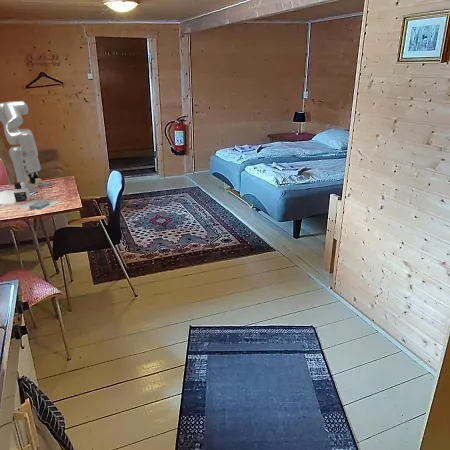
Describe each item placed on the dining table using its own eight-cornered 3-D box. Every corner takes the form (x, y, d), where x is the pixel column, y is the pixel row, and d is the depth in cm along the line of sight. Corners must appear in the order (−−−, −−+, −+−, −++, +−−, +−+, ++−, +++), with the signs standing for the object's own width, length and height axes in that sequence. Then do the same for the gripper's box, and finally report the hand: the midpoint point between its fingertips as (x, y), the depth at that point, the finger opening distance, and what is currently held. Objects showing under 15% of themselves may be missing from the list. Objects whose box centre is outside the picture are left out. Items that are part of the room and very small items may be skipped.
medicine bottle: (15, 203, 259) (11, 184, 255) (18, 199, 266) (14, 182, 261) (27, 201, 260) (23, 183, 256) (30, 198, 267) (26, 180, 262)
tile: (29, 205, 244) (39, 206, 242) (38, 201, 251) (49, 202, 249) (29, 208, 245) (40, 209, 243) (39, 204, 252) (49, 205, 250)
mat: (16, 208, 248) (16, 207, 248) (35, 200, 262) (35, 199, 262) (43, 210, 242) (43, 209, 242) (61, 202, 256) (61, 201, 256)
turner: (24, 183, 253) (23, 178, 252) (30, 181, 258) (29, 176, 256) (46, 187, 249) (45, 182, 248) (51, 185, 254) (51, 180, 252)
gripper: (23, 156, 239) (30, 186, 245) (42, 151, 253) (48, 179, 260) (13, 156, 241) (20, 186, 248) (32, 150, 255) (38, 179, 262)
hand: (34, 182), depth 254 cm, fingers closed on turner, 2 cm apart
